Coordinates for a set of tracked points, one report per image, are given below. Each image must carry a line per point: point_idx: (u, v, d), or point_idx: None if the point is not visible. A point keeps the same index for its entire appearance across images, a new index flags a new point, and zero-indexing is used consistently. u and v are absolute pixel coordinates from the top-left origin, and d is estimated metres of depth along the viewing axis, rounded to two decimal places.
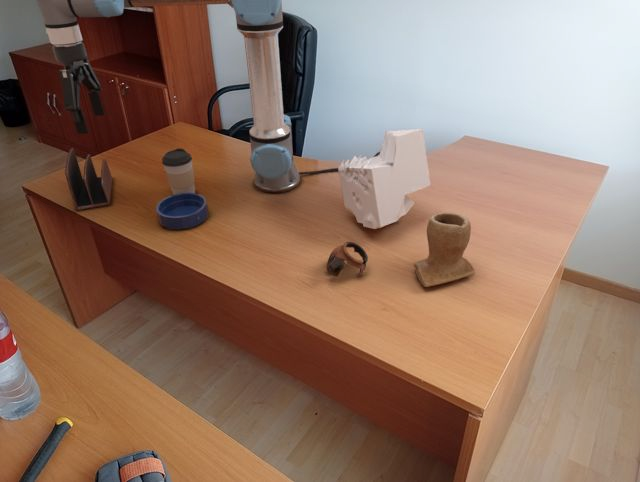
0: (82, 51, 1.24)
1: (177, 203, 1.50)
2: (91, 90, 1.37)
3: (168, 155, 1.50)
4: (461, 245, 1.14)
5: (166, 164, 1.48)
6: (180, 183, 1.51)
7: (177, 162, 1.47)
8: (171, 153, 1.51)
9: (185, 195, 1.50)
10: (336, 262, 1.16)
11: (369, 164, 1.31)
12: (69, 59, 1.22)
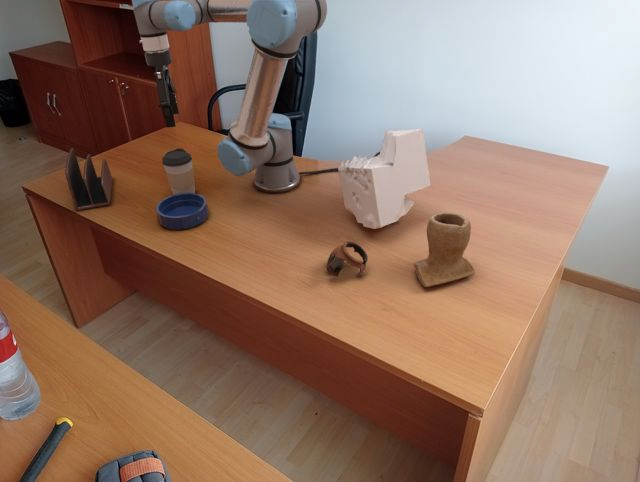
0: (170, 56, 1.46)
1: (177, 203, 1.50)
2: (168, 92, 1.59)
3: (168, 155, 1.50)
4: (461, 245, 1.14)
5: (166, 164, 1.48)
6: (180, 183, 1.51)
7: (177, 162, 1.47)
8: (171, 153, 1.51)
9: (185, 195, 1.50)
10: (335, 262, 1.16)
11: (369, 164, 1.31)
12: (161, 63, 1.44)
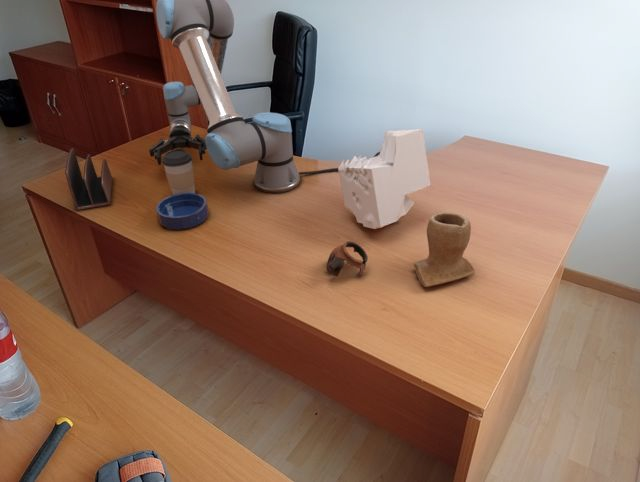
0: (175, 127, 1.74)
1: (177, 203, 1.50)
2: None
3: (168, 155, 1.50)
4: (461, 245, 1.14)
5: (166, 164, 1.48)
6: (180, 183, 1.51)
7: (177, 162, 1.47)
8: (171, 153, 1.51)
9: (185, 195, 1.50)
10: (335, 262, 1.16)
11: (369, 164, 1.31)
12: None
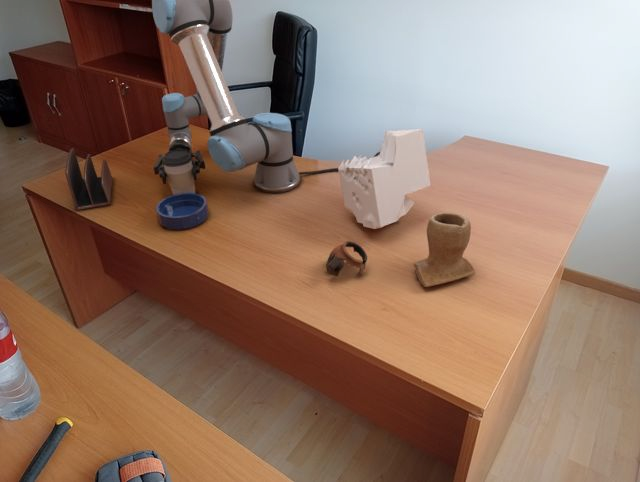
0: (175, 141, 1.64)
1: (177, 203, 1.50)
2: None
3: (168, 155, 1.50)
4: (461, 245, 1.14)
5: (166, 164, 1.48)
6: (180, 183, 1.51)
7: (177, 162, 1.47)
8: (171, 153, 1.51)
9: (185, 195, 1.50)
10: (335, 262, 1.16)
11: (369, 164, 1.32)
12: None
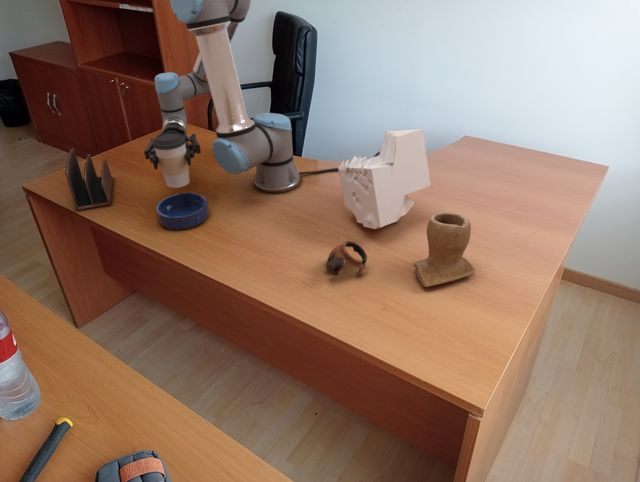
0: (168, 124, 1.51)
1: (177, 203, 1.50)
2: None
3: (159, 137, 1.37)
4: (461, 245, 1.14)
5: (157, 147, 1.35)
6: (172, 168, 1.38)
7: (169, 145, 1.34)
8: (163, 135, 1.38)
9: (185, 195, 1.50)
10: (335, 262, 1.16)
11: (369, 164, 1.32)
12: None
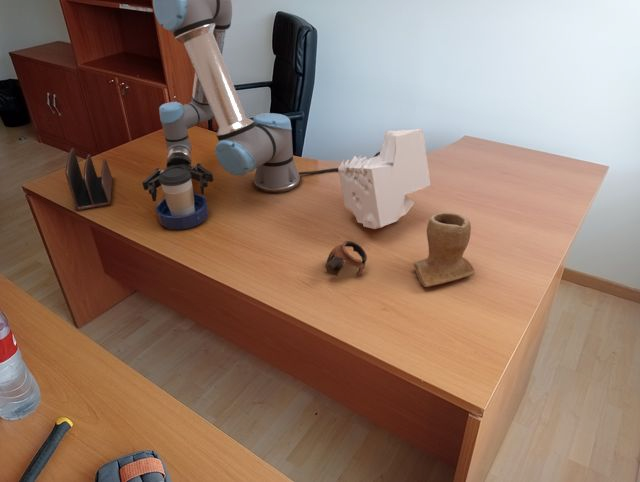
0: (173, 154, 1.52)
1: None
2: None
3: (166, 173, 1.38)
4: (461, 245, 1.14)
5: (163, 183, 1.36)
6: (178, 203, 1.40)
7: (175, 181, 1.36)
8: (169, 171, 1.39)
9: None
10: (335, 262, 1.17)
11: (369, 164, 1.32)
12: (166, 165, 1.52)
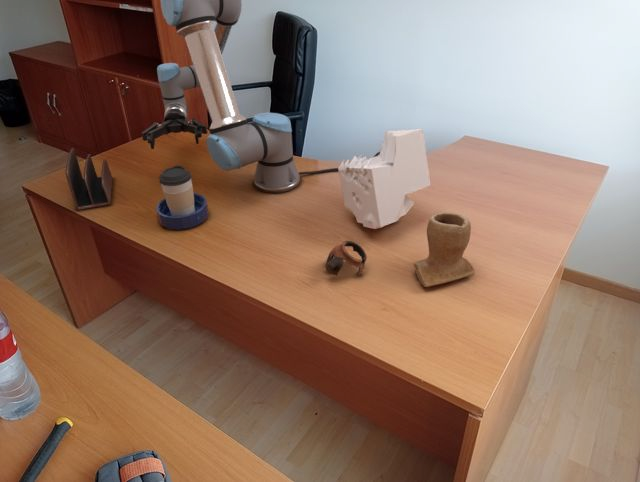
0: (170, 110, 1.64)
1: None
2: None
3: (166, 173, 1.38)
4: (461, 245, 1.14)
5: (163, 183, 1.36)
6: (178, 203, 1.40)
7: (175, 181, 1.36)
8: (169, 171, 1.39)
9: None
10: (334, 261, 1.17)
11: (369, 164, 1.31)
12: None
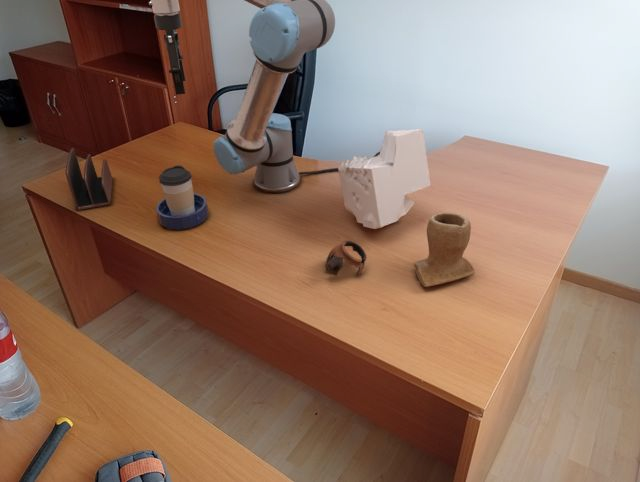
0: (180, 20, 1.41)
1: None
2: None
3: (166, 173, 1.38)
4: (461, 245, 1.14)
5: (163, 183, 1.36)
6: (178, 203, 1.40)
7: (175, 181, 1.36)
8: (169, 171, 1.39)
9: None
10: (334, 261, 1.17)
11: (369, 164, 1.32)
12: (171, 27, 1.39)
